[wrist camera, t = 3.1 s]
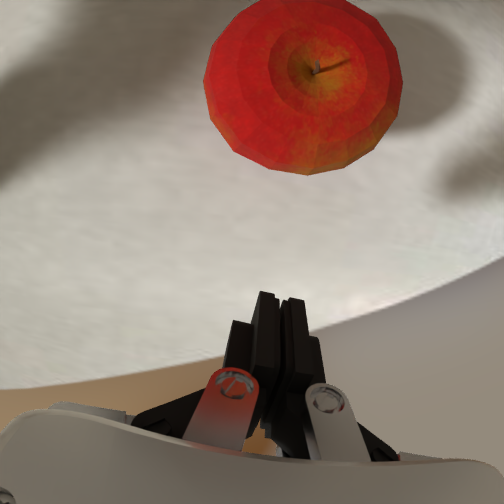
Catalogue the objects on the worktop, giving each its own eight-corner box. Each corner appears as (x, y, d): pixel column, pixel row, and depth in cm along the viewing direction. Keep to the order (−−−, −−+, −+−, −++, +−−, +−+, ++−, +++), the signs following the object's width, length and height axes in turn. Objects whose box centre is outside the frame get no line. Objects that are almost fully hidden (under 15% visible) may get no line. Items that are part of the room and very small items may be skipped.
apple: (239, 168, 22) (214, 220, 11) (210, 47, 19) (156, -16, 8) (368, 144, 21) (459, 176, 10) (341, 25, 18) (408, -46, 7)
